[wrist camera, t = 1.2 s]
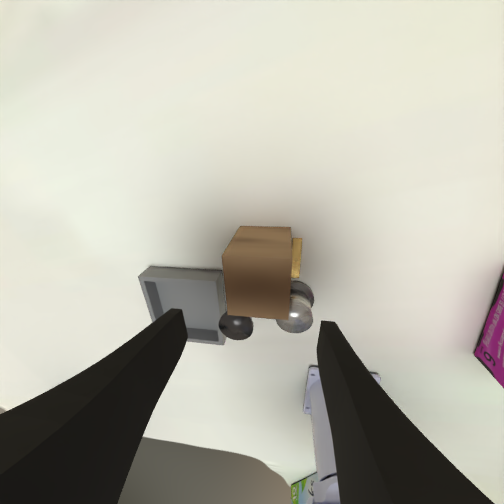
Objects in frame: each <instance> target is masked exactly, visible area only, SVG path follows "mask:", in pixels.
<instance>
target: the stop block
mask: <svg viewBox="0 0 504 504" xmlns="http://www.w3.org/2000/svg"><path fill="white" fill-rule="evenodd" d="M292 259H293V258H292V241H291V227H259V226H240V227H239V229H238V230H237V232H236V234H235V235H234V237H233V238H232V240H231V242H230V243H229V245H228V246H227V248H226V249H225V251H224V253H223V254H222V263H223V273H224V283H225V293H226V302H227V312H228V315H235V316H246V317H258V318H269V319H280V320H289V304H290V289H291V274H292Z"/></svg>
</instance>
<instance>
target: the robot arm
mask: <svg viewBox="0 0 504 504" xmlns="http://www.w3.org/2000/svg"><path fill="white" fill-rule="evenodd" d="M187 339H188V333H187V329H186V324H185V320H184V316H183V311H182V309H175V308H171V309H170V310H168V311H167V312H166V313H164V314H163V315H162V316H160V317H159V318H158V319H157V320H155V321H154V322H153V323H151V324H150V325H149V326H148V327H146V328H145V329H144V330H142V331H141V332H140V333H138V334H137V335H136V336H135V337H133V338H132V339H130V340H129V341H128V342H126V343H125V344H123V345H122V346H121V347H119V348H118V349H116V350H115V351H114V352H112V353H111V354H109V355H108V356H106V357H105V358H103V359H102V360H100V361H99V362H97V363H95V364H94V365H92V366H91V367H89V368H87V369H86V370H84V371H82V372H81V373H79V374H77V375H75V376H74V377H72V378H70V379H68V380H67V381H65V382H63V383H61V384H59V385H58V386H56V387H54V388H52V389H50V390H49V391H47V392H45V393H43V394H41V395H39V396H37V397H35V398H33V399H31V400H29V401H27V402H25V403H23V404H21V405H19V406H17V407H15V408H13V409H11V410H9V411H6V412H4V413H2V414H0V504H117V503H118V500H119V497H120V494H121V492H122V489H123V486H124V483H125V481H126V478H127V475H128V472H129V470H130V467H131V464H132V462H133V459H134V456H135V454H136V451H137V449H138V446H139V444H140V441H141V439H142V436H143V434H144V431H145V429H146V427H147V424H148V422H149V419H150V417H151V415H152V412H153V410H154V408H155V406H156V404H157V402H158V400H159V398H160V396H161V394H162V392H163V390H164V388H165V386H166V384H167V382H168V380H169V378H170V376H171V375H172V373H173V371H174V369H175V367H176V365H177V363H178V361H179V359H180V357H181V355H182V352H183V350H184V347H185V344H186V341H187ZM317 359H318V367H310V368H309V372H308V379H307V386H306V393H305V400H304V407H303V412H304V413H305V414H310V415H311V420H312V430H313V441H314V451H315V462H316V469H317V474H318V481H319V482H313V493H314V496H311V497H309V498H308V500H307V503H306V504H494V503H493V502H492V501H491V500H490V499H489V498H488V497H486V496H485V495H484V494H483V493H482V492H481V491H480V490H479V489H478V488H477V487H476V486H475V485H474V484H473V483H472V482H471V481H470V480H468V479H467V478H466V477H465V476H464V475H463V474H462V473H461V472H460V471H459V470H458V469H457V468H456V467H455V466H454V465H453V464H452V463H451V462H450V461H449V460H448V459H447V458H446V457H445V456H444V455H443V454H442V453H441V452H440V451H439V450H438V449H437V448H436V447H435V446H434V445H433V444H432V443H431V442H430V441H429V440H428V439H427V438H426V437H425V436H424V435H423V434H422V433H421V432H420V431H419V430H418V428H417V427H416V426H415V425H414V424H413V423H412V422H411V421H410V420H409V419H408V418H407V417H406V415H405V414H404V413H403V412H402V411H401V410H400V409H399V408H398V406H397V405H396V404H395V403H394V402H393V401H392V400H391V398H390V397H389V396H388V395H387V394H386V392H385V391H384V390H383V389H382V387H381V386H380V385H379V383H380V381H381V379H380V376H379V375H377V374H370V372H369V371H368V370H367V368H366V367H365V366H364V364H363V363H362V361H361V360H360V359H359V357H358V356H357V355H356V353H355V352H354V350H353V349H352V347H351V346H350V344H349V343H348V341H347V340H346V338H345V337H344V335H343V334H342V332H341V330H340V329H339V327H338V326H337V324H336V323H335V322H331V321H321V326H320V332H319V338H318V344H317Z"/></svg>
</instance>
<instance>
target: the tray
mask: <svg viewBox="0 0 504 504" xmlns="http://www.w3.org/2000/svg"><path fill="white" fill-rule="evenodd" d="M138 278H139V281H140V285H141V288H142V291H143V294H144V297H145V300H146V303H147V307H148V310H149V313H150V316H151V319H152V322H154V321H155V320H157V319H158V318H159V317H160V316H162V315H163V314H164V313H166V312H167V311H168V310H170V309H171V308H175V309H182V311H183V316H184V320H185V324H186V329H187V333H188V339H187V341H188V342H197V343H207V344H216V345H224V343H225V340H226V336H225V335H224V334H223V333H222V332H221V331H220V329H219V325H218V324H219V320H220V318H221V316H222V315H223V314H224V313H225V312H226V305H225V296H224V286H223V277H222V270H207V269H188V268H170V267H151V266H150V267H149V268H147V269H146V270H145V271H144V272H143V273H141V274H140V275H139V276H138Z"/></svg>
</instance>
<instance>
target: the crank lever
mask: <svg viewBox="0 0 504 504" xmlns="http://www.w3.org/2000/svg"><path fill="white" fill-rule="evenodd" d="M255 318H258V317H255ZM251 319H252V317H246V316H235V315H228V312H227V311H226V312H225V313H224V314H223V315H222V316H221V318H220V320H219V324H218V325H219V329H220V331H221V332H222V333H223V334H224V335H225V336H226V337H228V338H230V339H234V340H244V339H247V338H248V337H250V336H251V334H252V332H253V322H252V320H251ZM266 319H269V318H266ZM276 321H277V324H278V325H279V327H280V328H281V329H283V330H285V331H287V332H290V333H301V332H304V331H306V330H308V329H309V328H310V327H311V325H312V323H313V317H312V311H311V304H310V299H309V297H308V295H307V294H306V293H305V292H303V291H301V290H298V289H290V304H289V320H280V319H276Z"/></svg>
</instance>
